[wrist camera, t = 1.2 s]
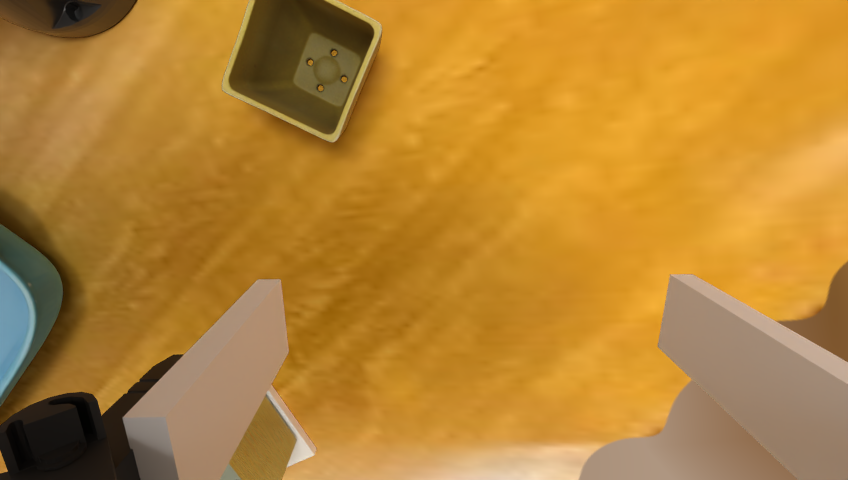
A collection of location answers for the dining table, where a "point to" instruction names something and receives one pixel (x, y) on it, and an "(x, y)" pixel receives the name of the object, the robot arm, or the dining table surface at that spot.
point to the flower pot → (303, 61)
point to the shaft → (262, 448)
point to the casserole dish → (24, 306)
